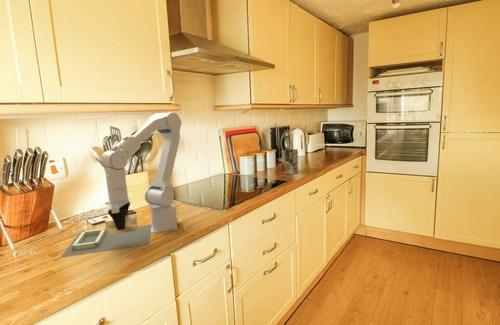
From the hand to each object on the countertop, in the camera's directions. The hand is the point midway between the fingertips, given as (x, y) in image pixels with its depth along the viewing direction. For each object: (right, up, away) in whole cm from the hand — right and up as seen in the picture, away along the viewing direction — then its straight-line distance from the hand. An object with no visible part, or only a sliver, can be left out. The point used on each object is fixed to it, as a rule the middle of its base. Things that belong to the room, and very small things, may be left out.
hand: (122, 227), depth 98 cm
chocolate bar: (-18, -3, +30) cm, 35 cm away
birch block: (0, -1, 0) cm, 1 cm away
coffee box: (+70, +14, +104) cm, 126 cm away
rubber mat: (-6, -6, +6) cm, 10 cm away
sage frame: (-13, -6, +5) cm, 15 cm away
